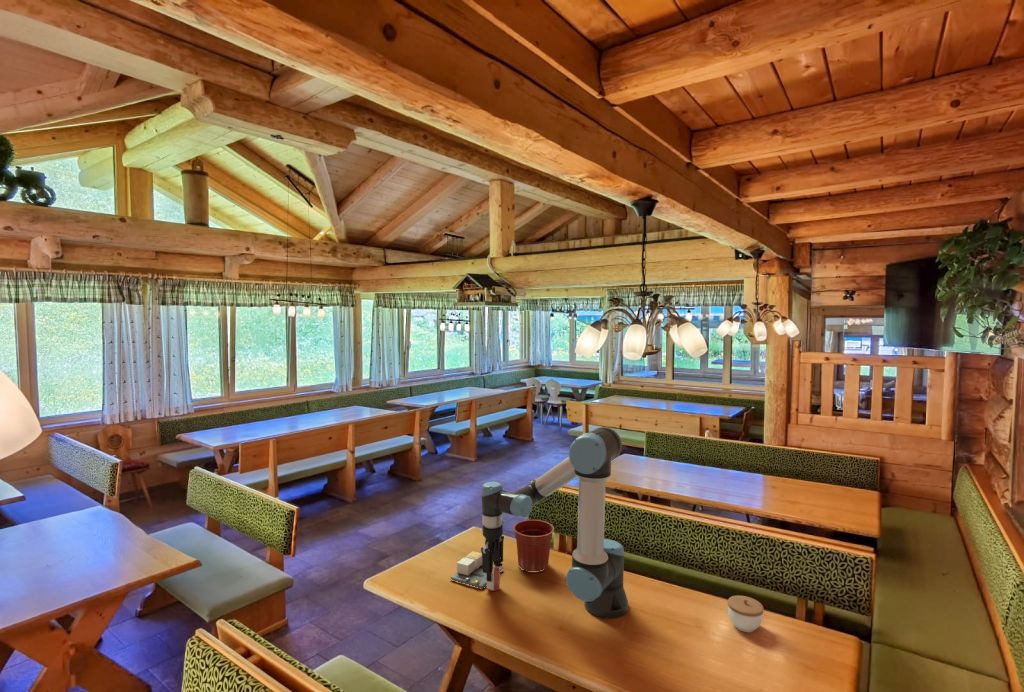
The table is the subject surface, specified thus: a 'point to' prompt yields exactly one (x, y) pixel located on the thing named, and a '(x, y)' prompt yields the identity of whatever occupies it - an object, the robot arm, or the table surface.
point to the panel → (473, 578)
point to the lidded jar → (745, 613)
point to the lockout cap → (496, 579)
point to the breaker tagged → (476, 558)
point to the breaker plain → (465, 566)
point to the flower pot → (533, 544)
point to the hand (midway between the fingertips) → (493, 585)
